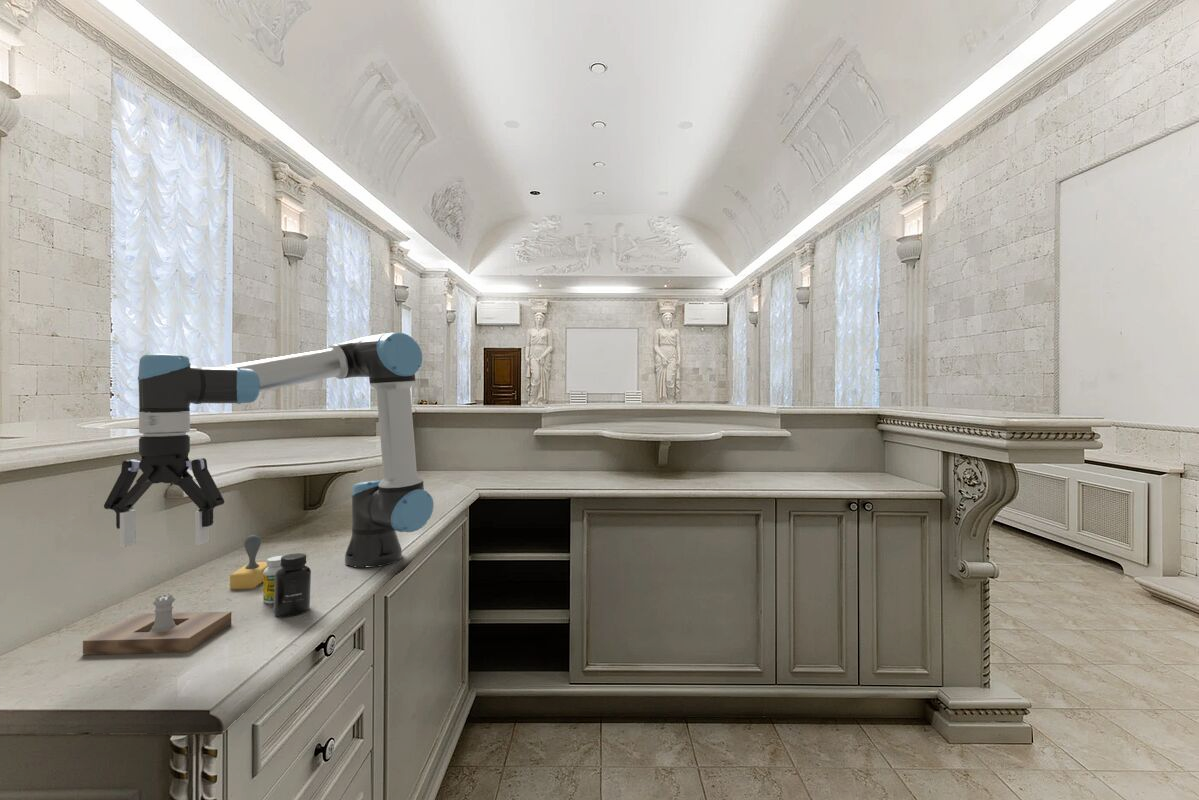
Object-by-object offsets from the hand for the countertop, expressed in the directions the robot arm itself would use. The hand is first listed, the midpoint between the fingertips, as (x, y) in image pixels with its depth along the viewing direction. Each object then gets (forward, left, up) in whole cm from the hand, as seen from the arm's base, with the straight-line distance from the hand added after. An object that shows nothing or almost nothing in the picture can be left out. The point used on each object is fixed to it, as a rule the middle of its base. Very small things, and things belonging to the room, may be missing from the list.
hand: (165, 544), depth 99 cm
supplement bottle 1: (-11, -19, -18) cm, 28 cm away
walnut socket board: (0, 0, -18) cm, 18 cm away
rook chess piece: (0, 0, -18) cm, 18 cm away
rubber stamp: (+2, -32, -18) cm, 37 cm away
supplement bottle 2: (-18, -12, -18) cm, 28 cm away
